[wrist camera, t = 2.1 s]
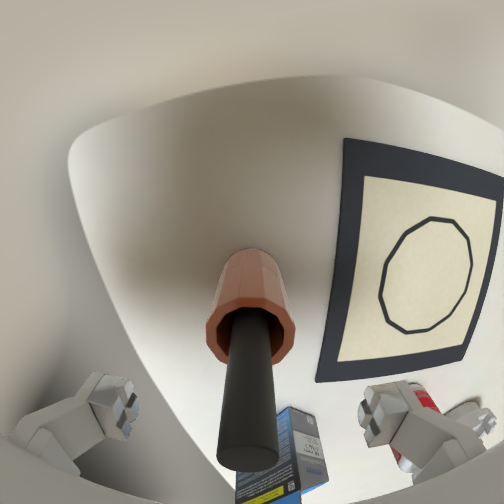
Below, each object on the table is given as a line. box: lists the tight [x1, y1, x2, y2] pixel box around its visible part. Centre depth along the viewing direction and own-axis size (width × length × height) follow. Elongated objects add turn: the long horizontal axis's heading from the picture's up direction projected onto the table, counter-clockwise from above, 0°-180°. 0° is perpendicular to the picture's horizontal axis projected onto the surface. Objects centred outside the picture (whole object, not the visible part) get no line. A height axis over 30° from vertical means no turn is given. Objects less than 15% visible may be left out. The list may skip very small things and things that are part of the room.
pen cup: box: [206, 248, 295, 365], centre depth 16 cm, size 4×4×8 cm
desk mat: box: [315, 138, 504, 383], centre depth 20 cm, size 20×18×1 cm
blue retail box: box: [235, 407, 329, 504], centre depth 19 cm, size 9×4×12 cm, turn 144°
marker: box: [216, 307, 280, 473], centre depth 12 cm, size 2×2×14 cm
